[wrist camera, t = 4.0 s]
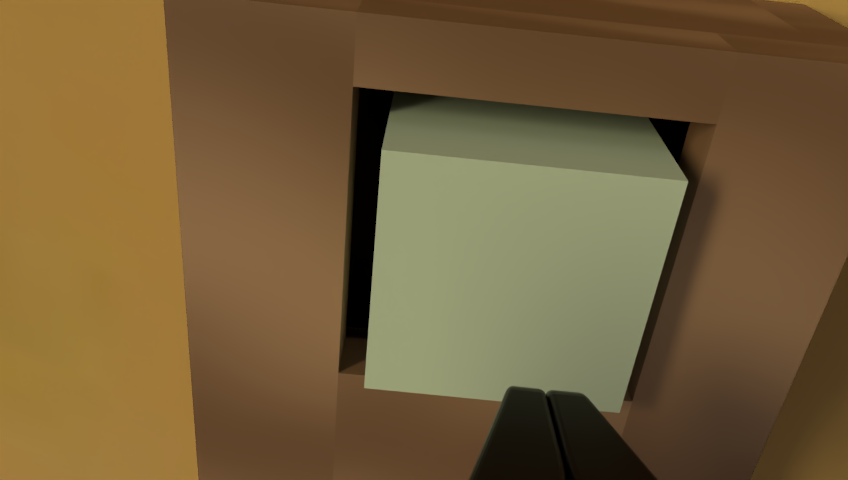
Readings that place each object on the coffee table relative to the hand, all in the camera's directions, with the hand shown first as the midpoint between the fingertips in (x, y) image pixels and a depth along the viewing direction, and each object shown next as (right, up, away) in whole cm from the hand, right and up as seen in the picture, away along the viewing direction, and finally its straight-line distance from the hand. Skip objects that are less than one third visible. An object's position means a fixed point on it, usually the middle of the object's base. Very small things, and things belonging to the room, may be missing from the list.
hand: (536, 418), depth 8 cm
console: (0, -1, +9) cm, 9 cm away
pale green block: (0, +3, +5) cm, 6 cm away
